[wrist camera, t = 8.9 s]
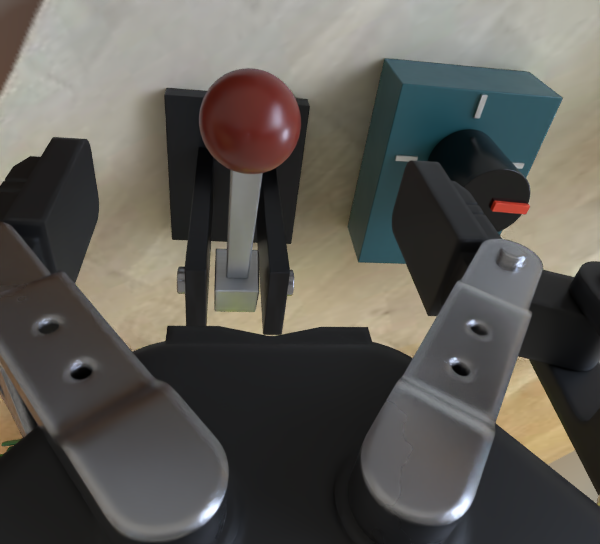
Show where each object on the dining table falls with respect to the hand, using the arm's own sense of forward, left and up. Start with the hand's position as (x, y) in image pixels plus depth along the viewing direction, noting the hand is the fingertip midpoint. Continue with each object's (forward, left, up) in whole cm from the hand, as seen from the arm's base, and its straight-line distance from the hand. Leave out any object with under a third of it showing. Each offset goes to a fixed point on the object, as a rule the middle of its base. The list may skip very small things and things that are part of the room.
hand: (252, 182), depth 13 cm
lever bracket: (+11, 0, -21) cm, 23 cm away
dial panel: (+9, +14, -21) cm, 27 cm away
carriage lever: (+5, 0, -8) cm, 9 cm away
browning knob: (+7, +14, -16) cm, 22 cm away
